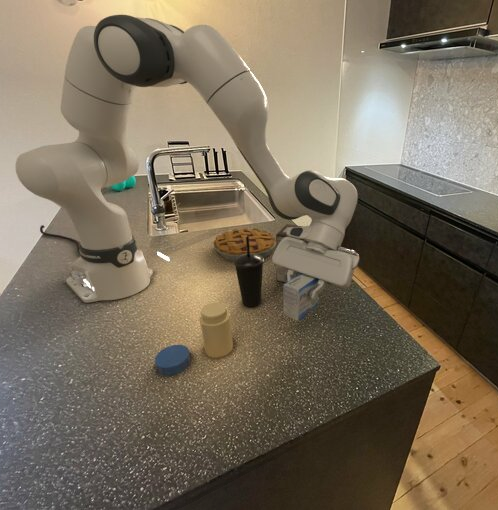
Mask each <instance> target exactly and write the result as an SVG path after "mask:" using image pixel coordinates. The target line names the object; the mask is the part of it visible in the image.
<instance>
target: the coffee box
mask: <svg viewBox="0 0 498 510" xmlns="http://www.w3.org/2000/svg"><path fill="white" fill-rule="evenodd" d="M290 227H303V225H296V224H290V223H289V224H288V223H286V224H285V225H284V226H283V227H282V228H281V230H279V231H278V232H277V233H276V234H275V241H276V244H275V246H276V248H277V246H278V245H279V243H280V241H281V240H282V239H283V238H285V237H288V235H287V234H286V232H287V230H288V228H290ZM287 272H288V270H285V269H282V268H279V267H277V266H276V279H277V281H278V282H285V283H287V282H288V279H287ZM298 275H299V274H297V275H296V276H298ZM293 278H295V277H293Z"/></svg>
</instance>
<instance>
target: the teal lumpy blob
mask: <svg viewBox="0 0 498 510" xmlns="http://www.w3.org/2000/svg"><path fill="white" fill-rule="evenodd" d="M136 182H137V181H136V175H133V176H132V177H130V178H129V179H127V180H125V181H124V182H122V183H119V184H115V185H112V186H108V187H109V188H110V189H111V190H113V191H114V192H121V191H124V190H125V188H127V189H131V188H134V187H135V186H136Z"/></svg>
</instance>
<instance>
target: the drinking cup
mask: <svg viewBox="0 0 498 510" xmlns="http://www.w3.org/2000/svg"><path fill="white" fill-rule="evenodd" d="M246 245H247V253H245V254H241V255H238V256H237V257H235V258H234V260H233V261H232V262H233V266H234V268H235V272H236V276H237V282H238V287H239V292H240V297H241V302H242V305H243V306H244V307H245V308H249V309H253V308H257V307H259V306H260V304H261V302H262V285H263V272H264V271H263V269H264V263H265V257H264V258H263V256H261V255H259V254H256V253H250V249H249V237H246Z"/></svg>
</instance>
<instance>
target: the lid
mask: <svg viewBox="0 0 498 510" xmlns="http://www.w3.org/2000/svg"><path fill="white" fill-rule="evenodd" d="M191 361H192V357H191V353H190V349H189V348H188V346H186V345H185V344H173V345H168V346H166V347H164V348H163V349H161V350H160V351H159V352H157V354H156V355H155V357H154V364H155V367H156V370H157V373H159V375H162V376H174V375H178V374H180V373H182V372H183V371H184V370H186V369H187V368H188V367H189V366H190V363H191Z"/></svg>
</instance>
